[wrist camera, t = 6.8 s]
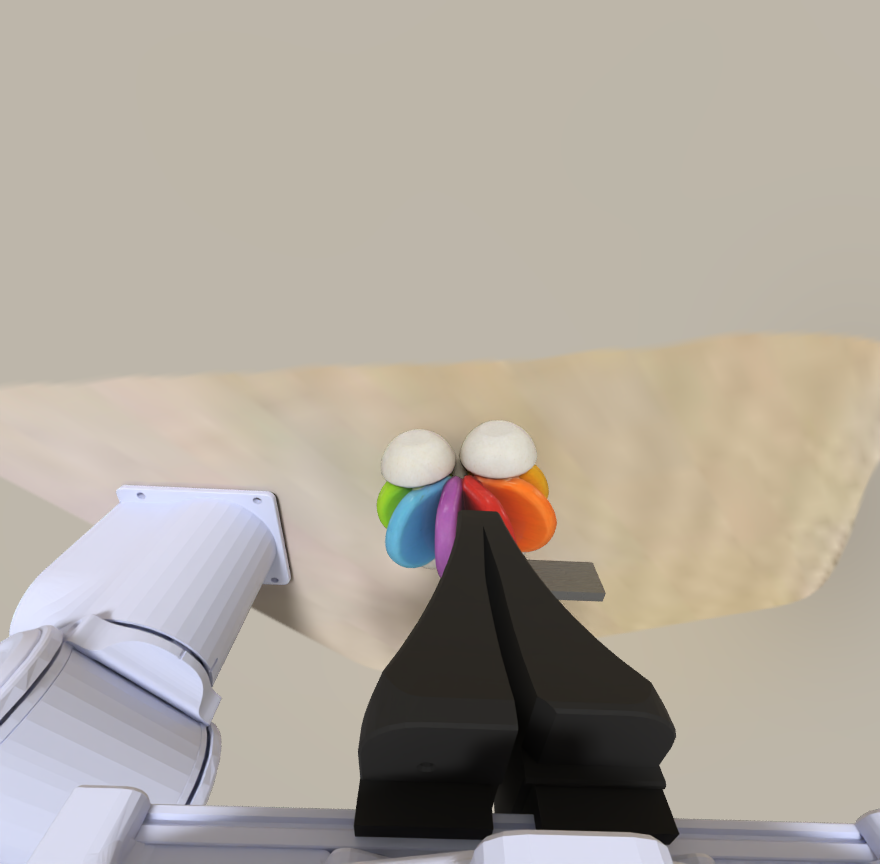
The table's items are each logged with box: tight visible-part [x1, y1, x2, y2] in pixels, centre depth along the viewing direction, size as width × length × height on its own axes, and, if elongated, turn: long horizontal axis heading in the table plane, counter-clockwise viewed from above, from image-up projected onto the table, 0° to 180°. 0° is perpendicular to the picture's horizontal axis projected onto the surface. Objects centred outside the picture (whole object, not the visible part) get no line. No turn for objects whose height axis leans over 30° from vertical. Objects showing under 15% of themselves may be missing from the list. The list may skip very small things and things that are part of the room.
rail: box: [527, 560, 605, 601], centre depth 26 cm, size 10×1×2 cm, turn 87°
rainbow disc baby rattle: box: [377, 420, 557, 577], centre depth 21 cm, size 8×10×7 cm
